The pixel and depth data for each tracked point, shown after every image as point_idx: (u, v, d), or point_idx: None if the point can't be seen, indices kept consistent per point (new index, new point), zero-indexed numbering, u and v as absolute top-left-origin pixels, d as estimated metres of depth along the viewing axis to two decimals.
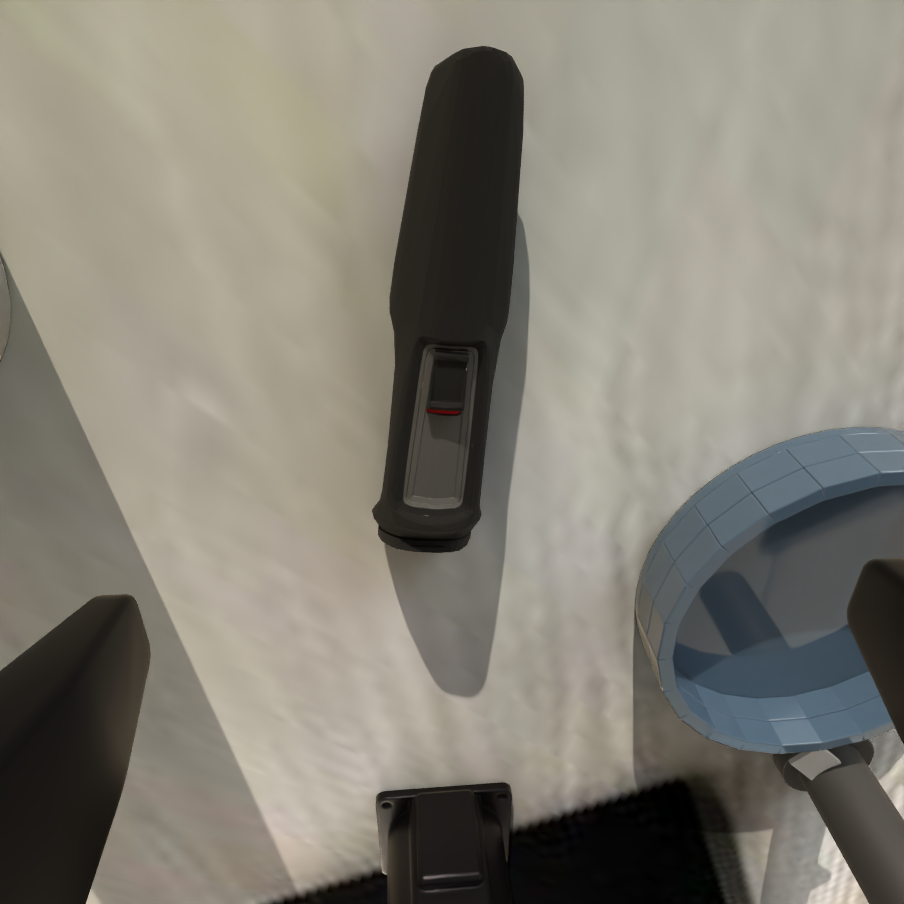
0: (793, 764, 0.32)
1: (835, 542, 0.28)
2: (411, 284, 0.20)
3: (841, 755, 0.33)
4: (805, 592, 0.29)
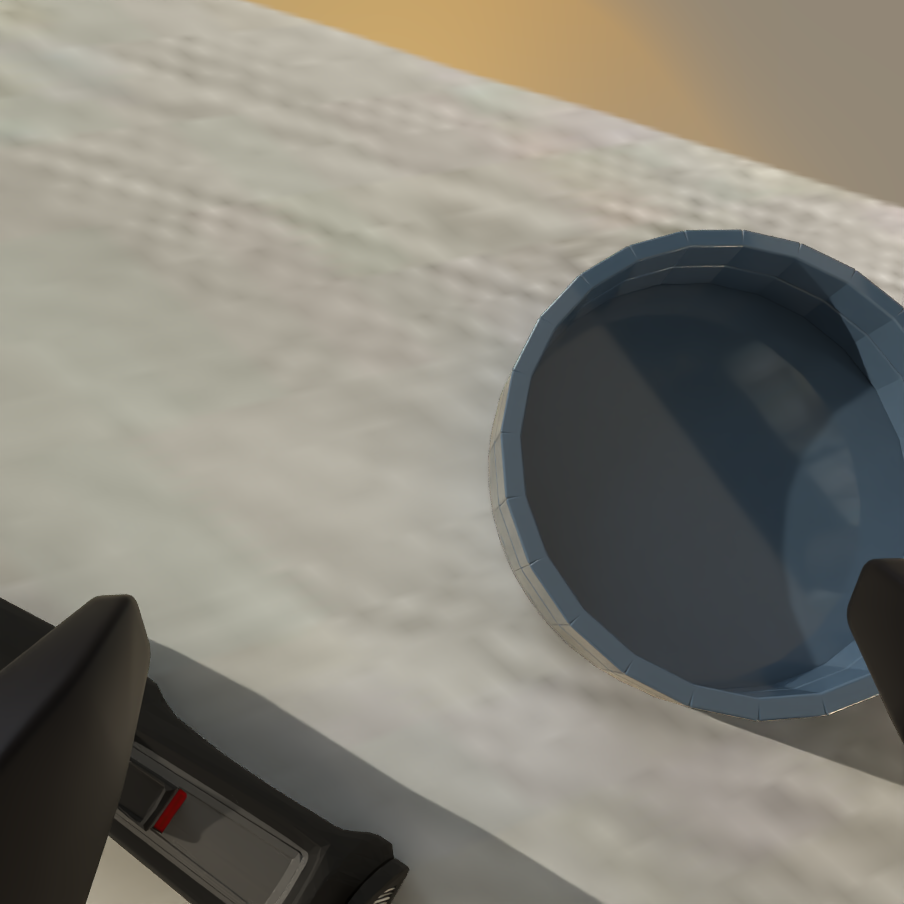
0: None
1: (654, 431, 0.23)
2: None
3: None
4: (718, 481, 0.22)
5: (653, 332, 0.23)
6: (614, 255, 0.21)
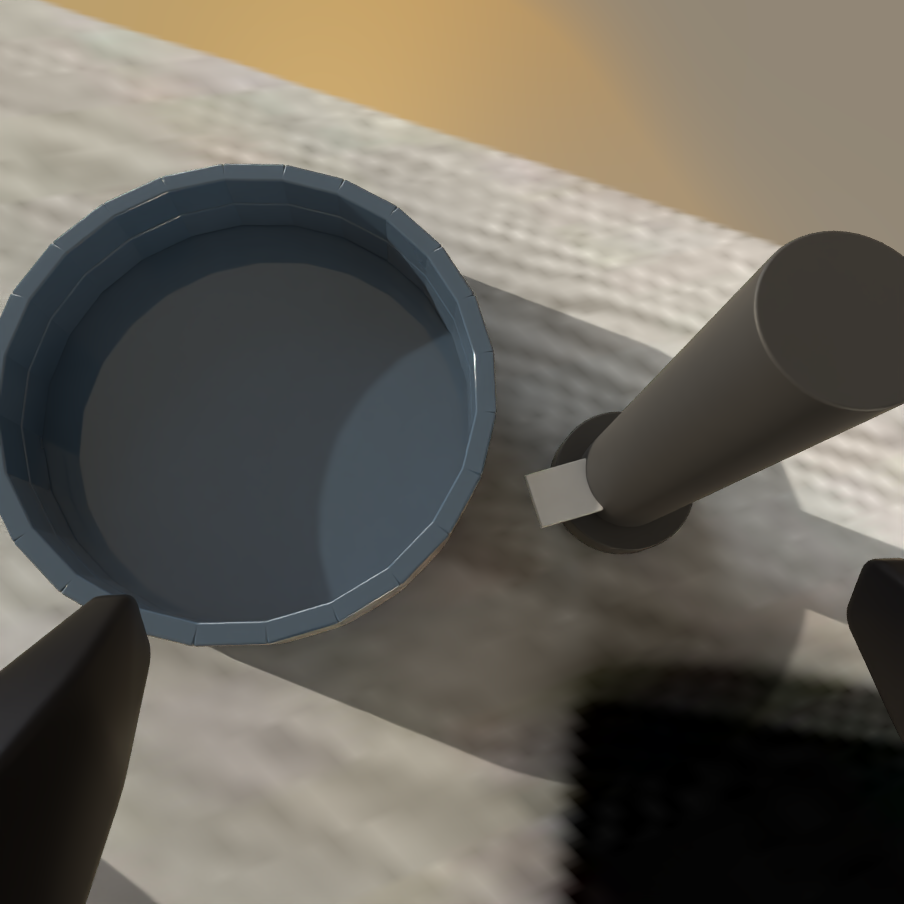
0: (544, 523, 0.20)
1: (208, 367, 0.22)
2: None
3: (585, 454, 0.21)
4: (266, 419, 0.22)
5: (226, 271, 0.23)
6: (143, 185, 0.21)
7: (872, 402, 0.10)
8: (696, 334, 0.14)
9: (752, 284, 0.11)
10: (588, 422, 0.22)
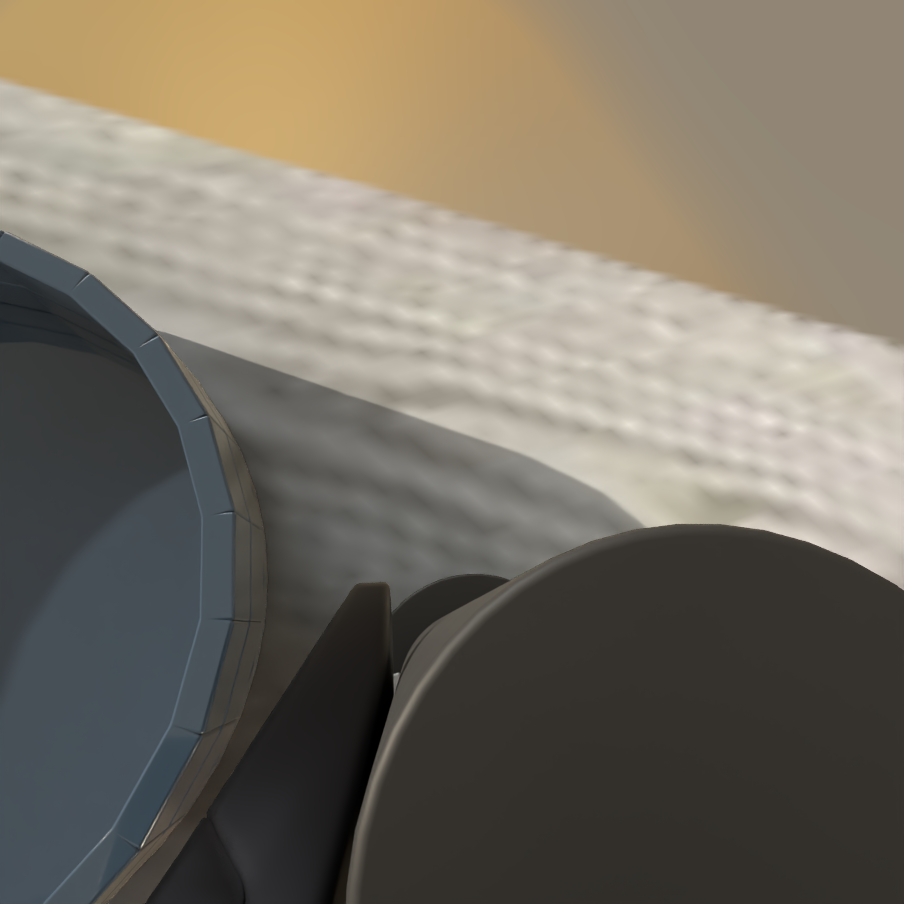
0: None
1: None
2: None
3: None
4: None
5: None
6: None
7: None
8: (424, 643, 0.06)
9: (380, 748, 0.03)
10: (419, 595, 0.14)
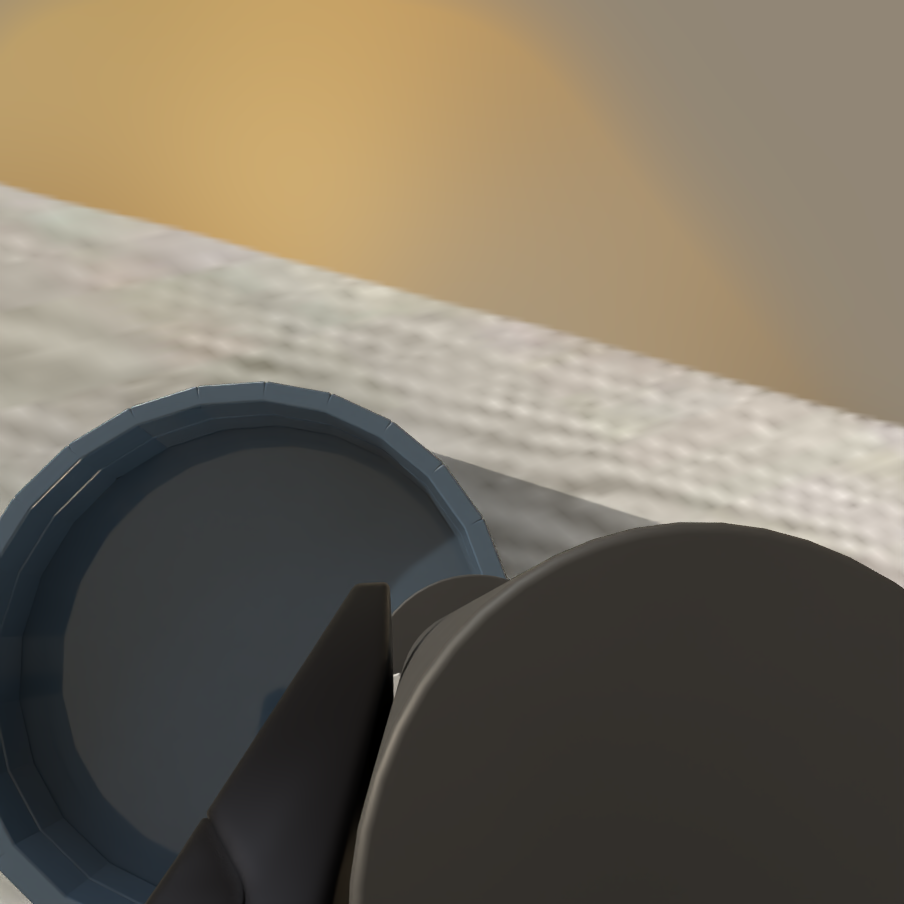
0: None
1: (196, 600, 0.21)
2: None
3: None
4: (263, 655, 0.20)
5: (209, 485, 0.21)
6: (110, 420, 0.19)
7: None
8: (425, 643, 0.06)
9: (383, 745, 0.03)
10: (419, 595, 0.14)
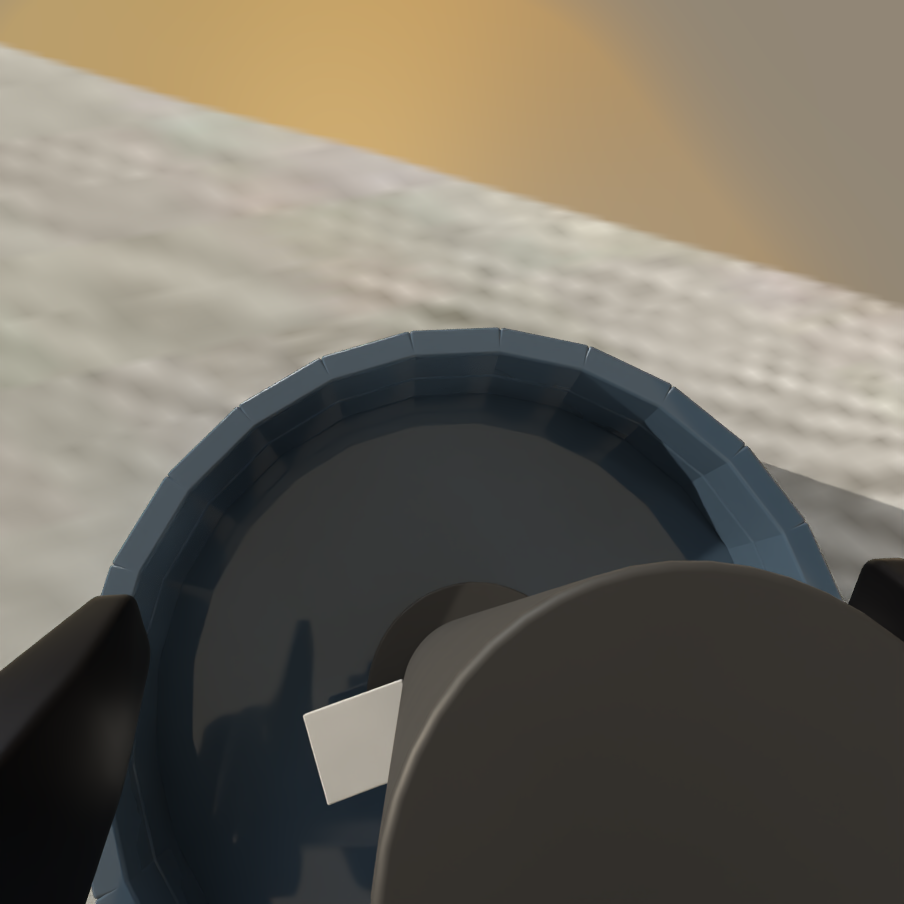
0: (332, 798, 0.13)
1: (387, 621, 0.15)
2: None
3: (407, 666, 0.14)
4: None
5: (398, 469, 0.16)
6: (295, 373, 0.14)
7: None
8: (431, 659, 0.06)
9: (399, 767, 0.03)
10: (421, 602, 0.15)
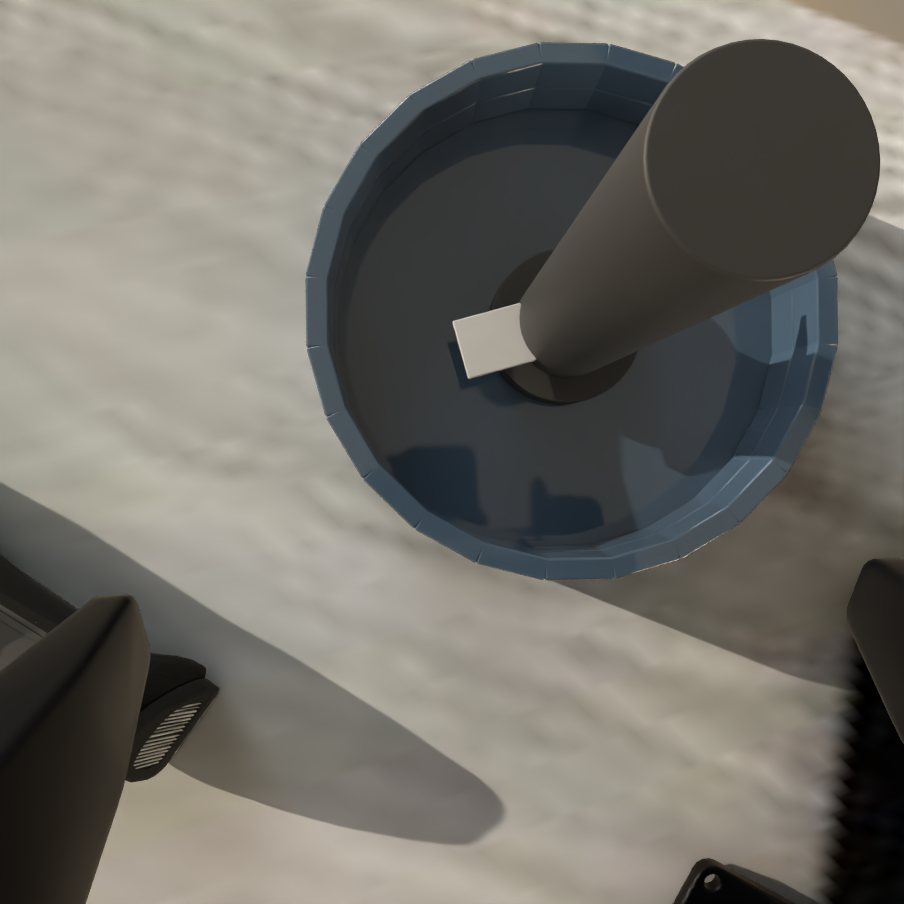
0: (471, 373, 0.19)
1: (501, 280, 0.21)
2: None
3: (522, 298, 0.19)
4: None
5: (513, 166, 0.21)
6: (452, 71, 0.19)
7: (772, 270, 0.09)
8: None
9: (649, 113, 0.09)
10: (530, 260, 0.20)
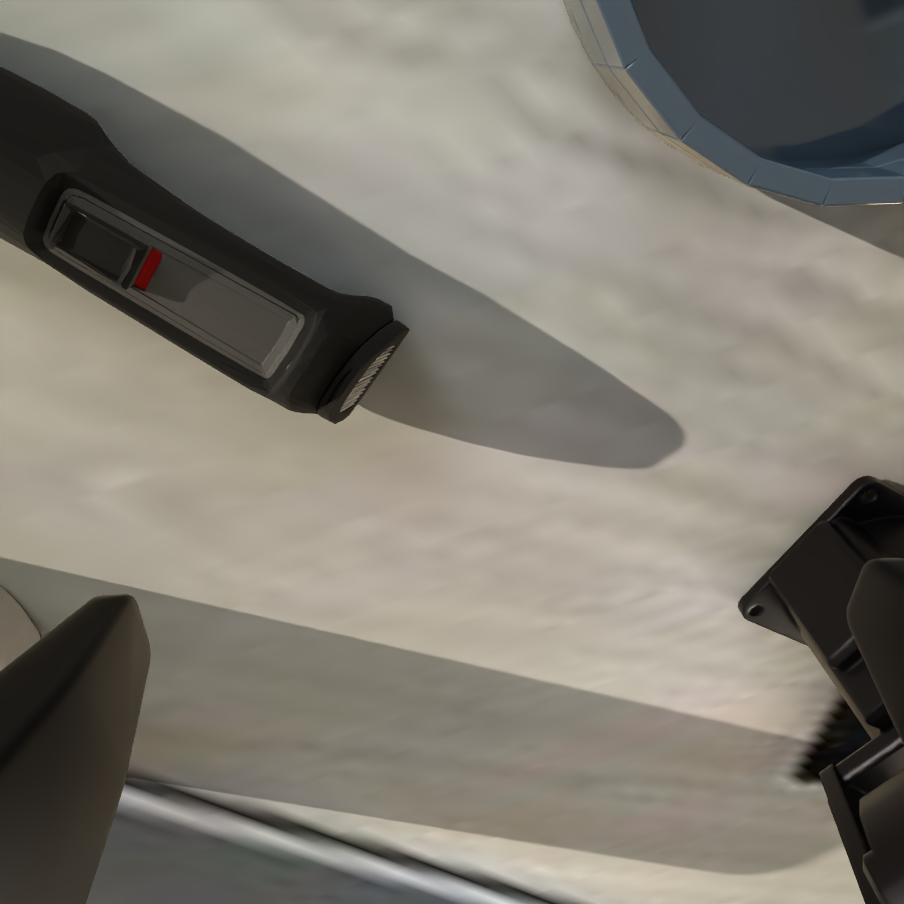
0: None
1: None
2: None
3: None
4: None
5: None
6: None
7: None
8: None
9: None
10: None
